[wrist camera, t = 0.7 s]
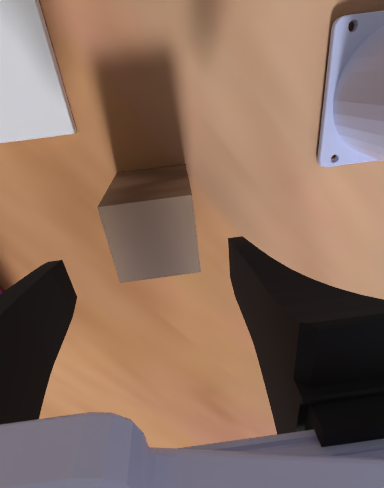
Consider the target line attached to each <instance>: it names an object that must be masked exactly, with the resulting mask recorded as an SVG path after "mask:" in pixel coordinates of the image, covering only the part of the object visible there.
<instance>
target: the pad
mask: <svg viewBox="0 0 384 488" xmlns="http://www.w3.org/2000/svg"><path fill="white" fill-rule="evenodd" d="M76 132H77V130H76V126H75V123H74V119H73V116H72V112H71V109H70V106H69V102H68V99H67V95H66V92H65V89H64V85H63V82H62V78H61V75H60V71H59V68H58V65H57V61H56V58H55V54H54V51H53V48H52V44H51V41H50V37H49V34H48V31H47V27H46V24H45V20H44V17H43V13H42V10H41V7H40V3H39V0H0V143H5V142H13V141H20V140H28V139H36V138H44V137H52V136H59V135H67V134H75V133H76Z"/></svg>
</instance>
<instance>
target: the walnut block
mask: <svg viewBox="0 0 384 488" xmlns="http://www.w3.org/2000/svg"><path fill="white" fill-rule="evenodd" d="M98 211H99V214H100V217H101V221H102V224H103V227H104V231H105V234H106V238H107V241H108V244H109V248H110V251H111V254H112V258H113V261H114V265H115V268H116V271H117V275H118V278H119V281H120V283H123V282H130V281H137V280H145V279H152V278H160V277H167V276H175V275H182V274H190V273H197V272H201V269H200V261H199V252H198V243H197V235H196V226H195V217H194V209H193V200H192V193H191V188H190V184H189V179H188V175H187V170H186V166H185V164H182V165H174V166H166V167H159V168H151V169H143V170H136V171H128V172H120V173H117V174H116V176H115V177H114V179H113V181H112V183H111V184H110V186H109V188H108V190H107V191H106V193H105V195H104V197H103V199H102V200H101V202H100V204H99V206H98Z"/></svg>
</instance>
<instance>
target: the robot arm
mask: <svg viewBox="0 0 384 488" xmlns="http://www.w3.org/2000/svg"><path fill="white" fill-rule="evenodd" d="M351 21H352V22H353V23H354V28H353V30H352V31H351V32H350V31H349V29H348V26H349V23H350V22H351ZM333 155H336V157H335V159H334V160H333V161H331V157H332V156H333ZM377 160H381V161H384V10H383V11H375V12H367V13H359V14H351V15H344V16H342V17H339V18H337V19H336V20H335V22H334V23H333V25H332V29H331V38H330V47H329V56H328V65H327V74H326V84H325V93H324V102H323V111H322V120H321V130H320V139H319V148H318V157H317V162H318V164H319V165H321V166H322V167H331V166H338V165H346V164H354V163H361V162H369V161H377ZM228 243H229V263H230V278H231V282H232V286H233V290H234V294H235V297H236V300H237V302H238V305H239V307H240V310H241V312H242V315H243V317H244V320H245V322H246V325H247V327H248V330H249V332H250V335H251V338H252V340H253V343H254V346H255V350H256V353H257V357H258V361H259V364H260V368H261V372H262V375H263V379H264V383H265V387H266V390H267V394H268V398H269V402H270V406H271V410H272V414H273V418H274V422H275V426H276V430H277V435H271V436H263V437H256V438H249V439H242V440H235V441H227V442H220V443H213V444H206V445H199V446H191V447H184V448H177V449H174V448H149V446H148V444H147V441H146V438H145V436H144V433H143V432H142V431H141V430H140V429H139V428H138V427H137V426H136V425H135V424H134V422H133V421H132V420H131V419H128V418H125V417H123V416H120V415H117V414H114V413H96V412H88V413H81V414H74V415H67V416H59V417H52V418H45V419H39V415H40V411H41V407H42V403H43V399H44V395H45V392H46V388H47V384H48V381H49V377H50V374H51V371H52V368H53V365H54V362H55V360H56V357H57V355H58V353H59V350H60V348H61V345H62V343H63V340H64V338H65V335H66V333H67V330H68V327H69V325H70V322H71V320H72V317H73V313H74V309H75V304H76V299H77V296H76V293H75V291H74V288H73V286H72V283H71V281H70V278H69V276H68V273H67V271H66V268H65V266H64V263H63V261H62V260H59V261H51V262H47V263H45V264H43V265H42V266H40V267H39V268H37V269H36V270H34V271H33V272H31V273H30V274H28V275H27V276H26V277H24V278H23V279H21V280H20V281H18V282H17V283H16V284H14V285H13V286H11V287H10V288H9V289H7V290H6V291H4V292H3V293H1V294H0V488H384V300H383V299H378V298H373V297H369V296H364V295H360V294H356V293H352V292H349V291H345V290H342V289H339V288H335V287H332V286H329V285H327V284H324V283H321V282H319V281H316V280H313V279H311V278H309V277H306V276H304V275H302V274H300V273H298V272H296V271H294V270H292V269H290V268H288V267H286V266H285V265H283V264H281V263H279V262H278V261H276V260H274V259H273V258H271V257H270V256H268V255H267V254H265V253H264V252H263V251H261V250H260V249H258V248H257V247H256V246H254V245H253V244H252V243H250V242H249V241H248V240H246V239H245V238H244V237H234V238H228Z"/></svg>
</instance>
